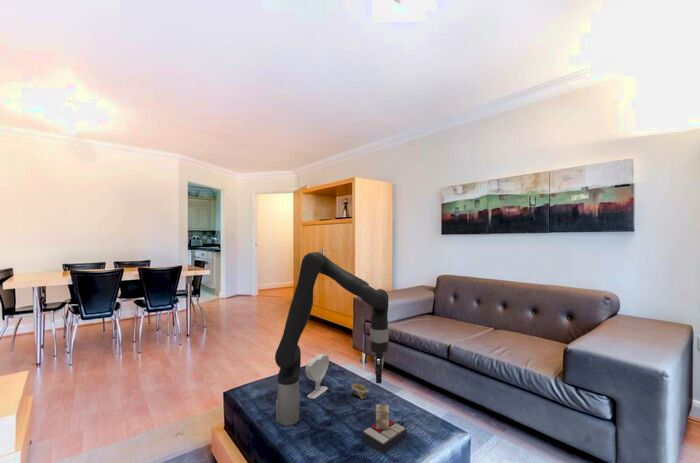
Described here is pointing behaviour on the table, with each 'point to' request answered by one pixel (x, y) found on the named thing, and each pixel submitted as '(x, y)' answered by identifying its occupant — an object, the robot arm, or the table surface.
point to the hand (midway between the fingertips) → (379, 378)
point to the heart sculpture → (317, 373)
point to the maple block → (382, 417)
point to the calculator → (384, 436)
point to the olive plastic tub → (360, 390)
